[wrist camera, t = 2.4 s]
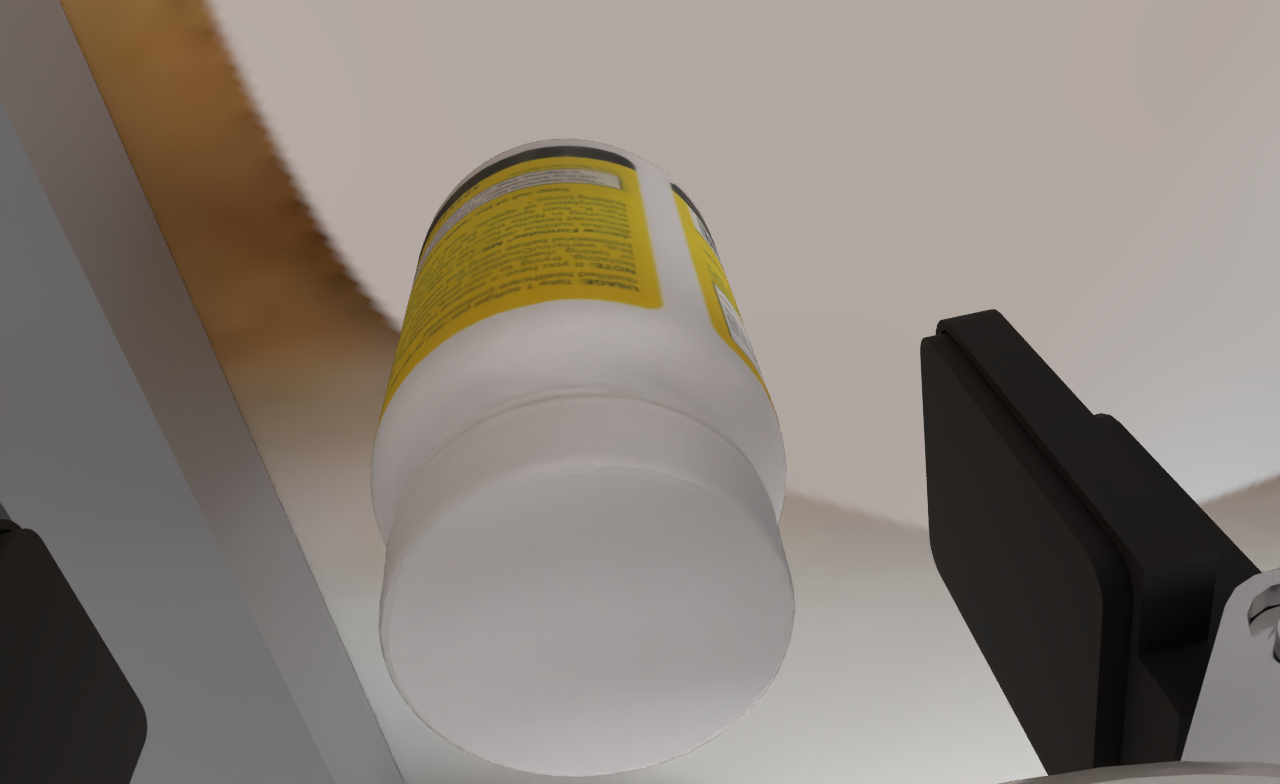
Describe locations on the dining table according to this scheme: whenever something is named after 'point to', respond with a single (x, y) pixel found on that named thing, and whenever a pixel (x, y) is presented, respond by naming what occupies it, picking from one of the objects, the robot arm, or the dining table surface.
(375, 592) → the dining table surface
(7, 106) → the block
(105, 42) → the dining table surface
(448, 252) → the supplement bottle
